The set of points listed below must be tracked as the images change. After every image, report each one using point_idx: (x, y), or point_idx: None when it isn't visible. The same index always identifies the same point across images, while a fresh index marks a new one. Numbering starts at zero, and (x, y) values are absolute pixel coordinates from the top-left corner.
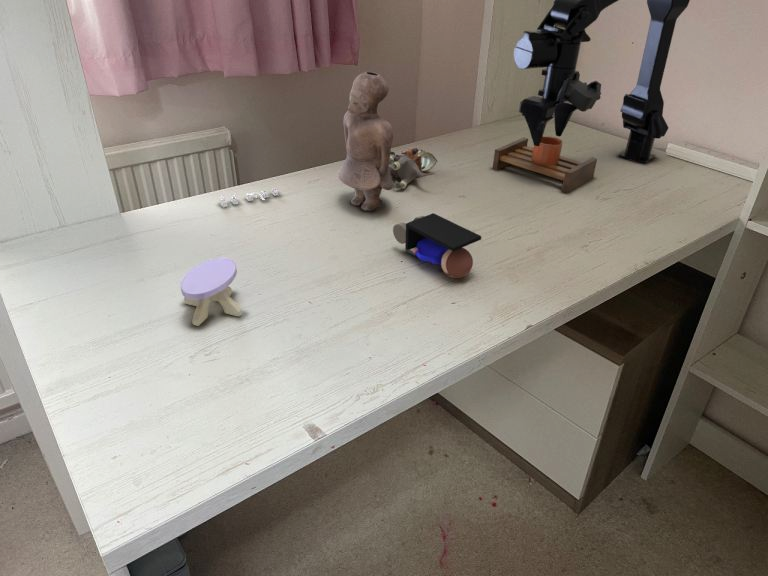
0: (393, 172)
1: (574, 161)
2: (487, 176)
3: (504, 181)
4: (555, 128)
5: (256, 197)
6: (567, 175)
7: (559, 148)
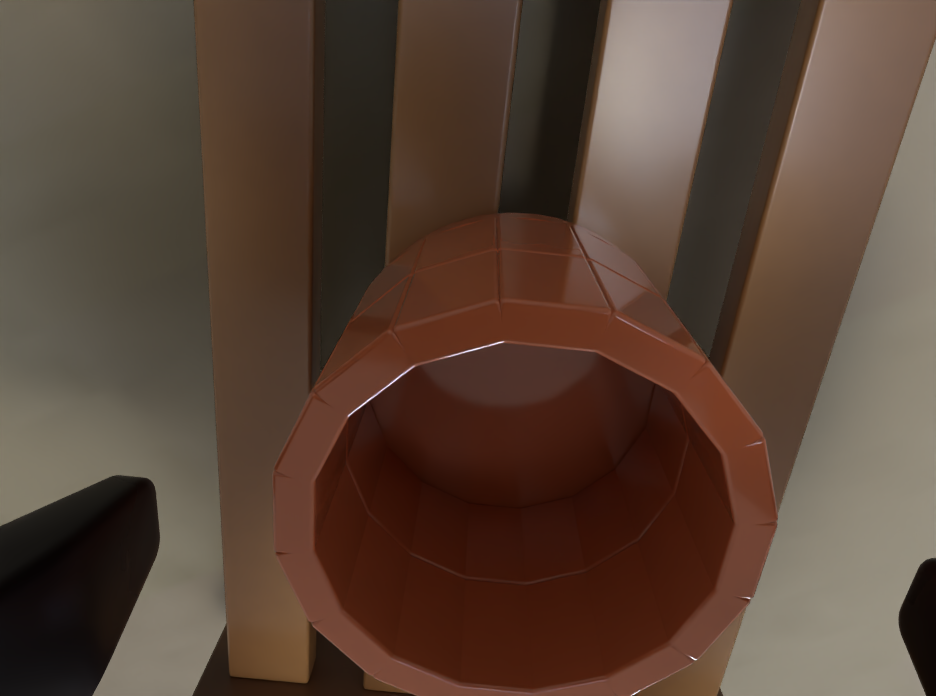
0: None
1: (253, 57)
2: (866, 625)
3: (906, 493)
4: (100, 674)
5: None
6: None
7: (563, 280)
